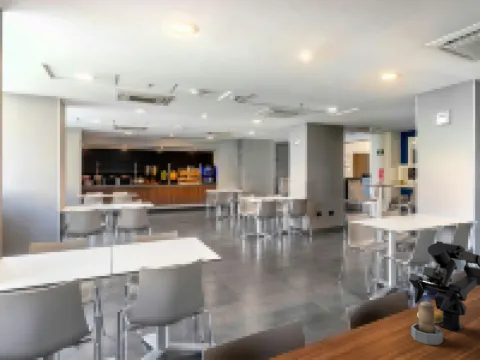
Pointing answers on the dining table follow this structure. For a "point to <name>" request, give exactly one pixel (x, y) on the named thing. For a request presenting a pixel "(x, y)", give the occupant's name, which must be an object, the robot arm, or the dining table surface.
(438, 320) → the bread roll
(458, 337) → the dining table surface
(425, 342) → the bin
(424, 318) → the pepper mill
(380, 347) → the dining table surface
